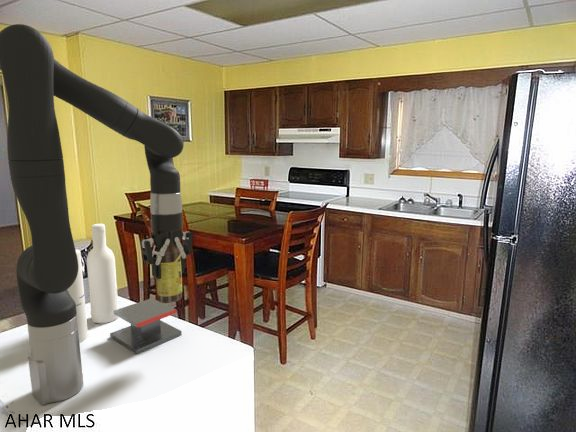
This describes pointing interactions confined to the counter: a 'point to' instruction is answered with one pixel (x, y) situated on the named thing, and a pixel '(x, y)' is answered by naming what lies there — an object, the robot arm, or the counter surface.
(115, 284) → the bottle
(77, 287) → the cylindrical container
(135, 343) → the grey piece
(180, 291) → the sauce bottle
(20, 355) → the counter surface
